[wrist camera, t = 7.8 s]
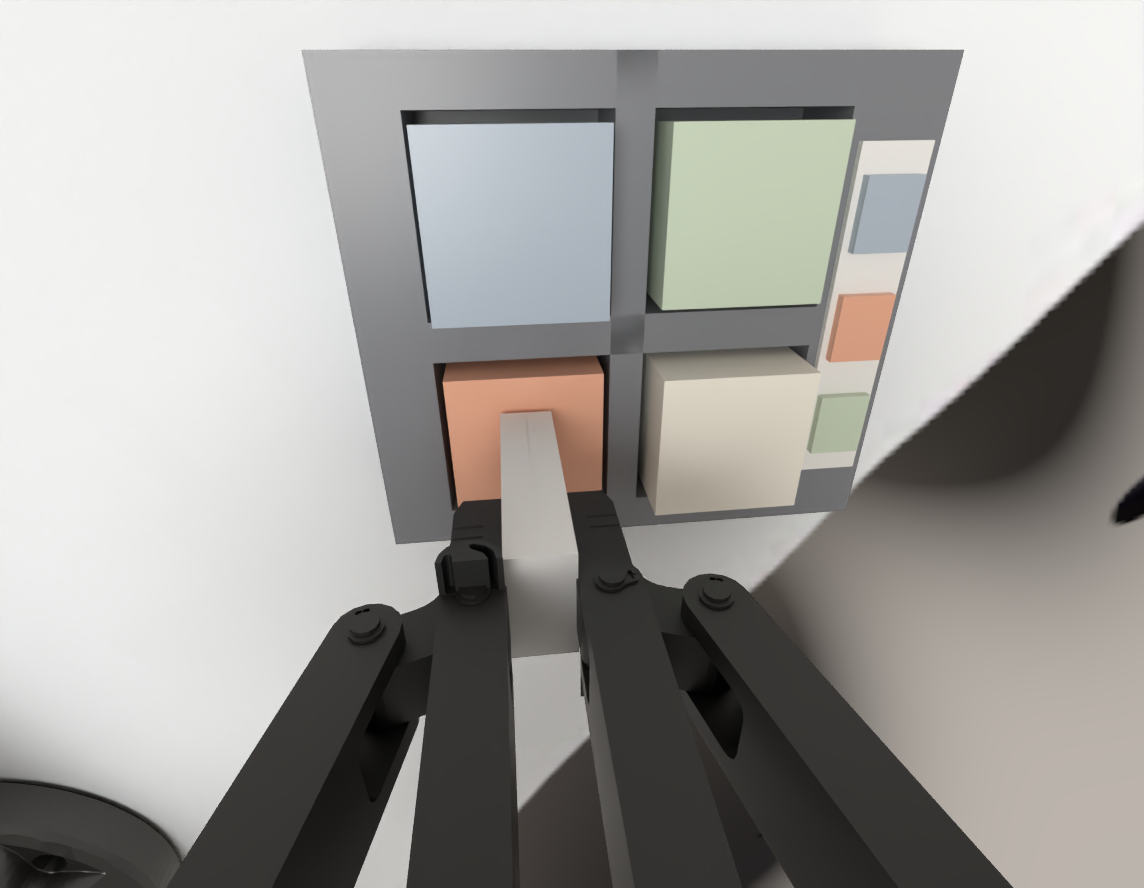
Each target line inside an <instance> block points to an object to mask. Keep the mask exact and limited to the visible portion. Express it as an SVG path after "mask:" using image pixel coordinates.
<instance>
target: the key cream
mask: <svg viewBox="0 0 1144 888" xmlns="http://www.w3.org/2000/svg"><path fill="white" fill-rule="evenodd" d="M820 377H821V372H819V371H818V370H817V369H816V368H814V367H813V366H812V365H810V364H809V363H808V362H807V361H805V360H804V359H803V358H802V357H800V356H799V355H798V354H796V353H795V352H794V351H793V350H791V349H790V348H789V347H788V346H781V347H761V348H740V349H719V350H699V351H678V352H657V353H643V366H642V386H641V405H640V425H639V445H638V464H637V471H638V474H639V476H640V479H641V481H642V484H643V486H644V489H645V491H646V494H647V496H648V499H649V501H650V504H651V506H652V509H653V511H654V514H655V515H669V514H682V513H696V512H709V511H723V510H736V509H750V508H763V507H777V506H790V505H794V503H795V498H796V493H797V488H798V484H799V479H800V474H801V469H802V464H803V459H804V454H805V450H806V445H807V440H808V435H809V430H810V425H811V420H812V416H813V411H814V406H815V401H816V396H817V391H818V387H819V382H820Z"/></svg>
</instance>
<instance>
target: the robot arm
mask: <svg viewBox="0 0 1144 888" xmlns="http://www.w3.org/2000/svg"><path fill="white" fill-rule="evenodd" d="M500 446H501V499H488V500H474V501H463V502H462V503H461V505H460V506H459V507H458V509H457V510H456V511H455V513H454V515H453V524H452V533H451V543H450V546H449V547H446V548H445V549H444V550H443V551H442V552H441V553H440V554H439V555H438V557H437V559H436V561H435V569H436V576H437V582H438V589H439V596H438V597H437V598H436V599H435V600H433V601H432V602H430V603H429V604H427V605H426V606H424V607H421V608H419V609H416V610H414V611H411V612H408V613H405V614H402V615H400V614H399V612H398V611H396V610H395V609H394V608H393V607H391V606H387V605H383V604H367V605H364V606H361V607H358V608H354V609H352V610H351V611H349V612H347V613H346V614H344V615H343V616H341V617H340V618H339V619H338V621H337V622H336V623H335V624H334V625H333V626H332V628H331V629H330V631H329V633H328V634H327V636H326V637H325V639H324V640H323V642H322V644H321V645H320V647H319V648H318V650H317V651H316V653H315V655H314V656H313V658H312V659H311V661H310V662H309V664H308V666H307V667H306V669H305V670H304V672H303V673H302V675H301V677H300V678H299V680H298V681H297V683H296V684H295V686H294V688H293V689H292V691H291V692H290V694H289V695H288V697H287V699H286V700H285V702H284V703H283V705H282V706H281V708H280V710H279V711H278V713H277V714H276V716H275V717H274V719H273V720H272V722H271V724H270V725H269V727H268V728H267V730H266V731H265V733H264V735H263V736H262V738H261V739H260V741H259V742H258V744H257V746H256V747H255V749H254V750H253V752H252V753H251V755H250V757H249V758H248V760H247V761H246V763H245V764H244V766H243V768H242V769H241V771H240V772H239V774H238V775H237V777H236V779H235V780H234V782H233V783H232V785H231V786H230V788H229V790H228V791H227V793H226V794H225V796H224V797H223V799H222V801H221V802H220V804H219V805H218V807H217V808H216V810H215V812H214V813H213V815H212V816H211V818H210V819H209V821H208V823H207V824H206V826H205V827H204V829H203V830H202V832H201V834H200V835H199V837H198V838H197V840H196V841H195V843H194V845H193V846H192V848H191V849H190V851H189V852H188V854H187V856H186V857H185V859H184V860H183V862H182V863H181V865H180V861H179V859H178V856H177V854H176V853H175V851H174V849H173V848H172V847H171V845H170V844H169V843H168V842H167V841H166V839H165V838H164V837H162V836H161V835H160V834H159V833H158V832H157V831H156V830H155V829H153V828H152V827H150V826H149V825H148V824H146V823H145V822H143V821H141V820H140V819H138V818H137V817H135V816H133V815H131V814H129V813H127V812H125V811H123V810H121V809H119V808H116V807H114V806H112V805H109V804H107V803H104V802H101V801H99V800H96V799H93V798H89V797H86V796H83V795H79V794H76V793H72V792H67V791H63V790H58V789H53V788H48V787H42V786H35V785H27V784H18V783H3V782H0V888H354V886H355V884H356V881H357V878H358V876H359V873H360V871H361V868H362V866H363V863H364V861H365V858H366V856H367V853H368V850H369V848H370V845H371V843H372V840H373V838H374V835H375V833H376V830H377V828H378V825H379V823H380V820H381V817H382V815H383V812H384V810H385V807H386V805H387V802H388V800H389V797H390V795H391V792H392V789H393V787H394V784H395V782H396V779H397V777H398V774H399V772H400V769H401V767H402V764H403V762H404V759H405V756H406V754H407V751H408V749H409V746H410V744H411V741H412V739H413V736H414V734H415V731H416V728H417V726H418V723H419V718H420V716H423V715H425V714H426V719H425V728H424V737H423V746H422V755H421V763H420V772H419V781H418V790H417V799H416V808H415V816H414V825H413V834H412V843H411V852H410V861H409V869H408V878H407V887H406V888H520V870H519V843H518V842H519V841H518V812H517V783H516V754H515V725H514V696H513V674H512V661H511V658H517V657H528V656H538V655H549V654H559V653H570V652H579V647H580V654H581V696H584V697H585V704H586V711H587V717H588V724H589V731H590V737H591V744H592V750H593V757H594V763H595V770H596V777H597V784H598V790H599V797H600V803H601V810H602V817H603V823H604V830H605V837H606V843H607V850H608V857H609V863H610V870H611V876H612V883H613V888H742V886H741V882H740V879H739V876H738V873H737V870H736V867H735V864H734V861H733V858H732V854H731V851H730V848H729V845H728V842H727V838H726V836H725V832H724V829H723V826H722V823H721V820H720V817H719V814H718V811H717V807H716V804H715V801H714V798H713V794H712V791H711V788H710V785H709V782H708V779H707V776H706V773H705V770H704V766H703V763H702V760H701V757H700V754H699V751H698V748H697V744H696V741H695V738H694V735H693V732H692V728H691V725H690V722H689V719H688V716H687V713H688V714H689V716H690V718H691V719H692V721H693V723H694V724H695V726H696V728H697V729H698V731H699V732H700V734H701V735H702V737H703V739H704V741H705V742H706V744H707V746H708V747H709V749H710V751H711V752H712V754H713V755H714V757H715V759H716V760H717V762H718V763H719V765H720V767H721V769H722V770H723V772H724V773H725V775H726V777H727V778H728V780H729V782H730V783H731V785H732V786H733V788H734V790H735V791H736V793H737V795H738V796H739V798H740V800H741V801H742V803H743V805H744V806H745V808H746V809H747V811H748V813H749V814H750V816H751V818H752V819H753V821H754V823H755V824H756V826H757V827H758V829H759V831H760V832H761V834H762V836H763V837H764V839H765V841H766V842H767V844H768V845H769V847H770V849H771V850H772V852H773V854H774V855H775V857H776V859H777V860H778V862H779V863H780V865H781V867H782V868H783V870H784V872H785V873H786V875H787V877H788V878H789V880H790V881H791V883H792V885H793V886H794V888H1013V887H1012V886H1011V885H1010V884H1009V882H1008V881H1007V880H1006V879H1005V878H1004V877H1003V876H1002V875H1001V873H1000V872H999V871H998V870H997V869H996V868H995V867H994V866H993V865H992V864H991V862H990V861H989V860H988V859H987V858H986V857H985V856H984V855H983V854H982V852H981V851H980V850H979V849H978V848H977V847H976V846H975V844H974V843H973V842H972V841H971V840H970V839H969V838H968V837H967V836H966V834H965V833H964V832H963V831H962V830H961V829H960V828H959V827H958V826H957V824H956V823H955V822H954V821H953V820H952V819H951V818H950V817H949V816H948V814H947V813H946V812H945V811H944V810H943V809H942V808H941V807H940V805H939V804H938V803H937V802H936V801H935V800H934V799H933V798H932V797H931V795H930V794H929V793H928V792H927V791H926V790H925V789H924V788H923V787H922V785H921V784H920V783H919V782H918V781H917V780H916V779H915V778H914V777H913V775H912V774H911V773H910V772H909V771H908V770H907V769H906V768H905V766H904V765H903V764H902V763H901V762H900V761H899V760H898V759H897V758H896V756H895V755H894V754H893V753H892V752H891V751H890V750H889V749H888V747H887V746H886V745H885V744H884V743H883V742H882V741H881V740H880V738H879V737H878V736H877V735H876V734H875V733H874V732H873V731H872V730H871V728H870V727H869V726H868V725H867V724H866V723H865V722H864V721H863V720H862V718H861V717H860V716H859V715H858V714H857V713H856V712H855V711H854V709H853V708H852V707H850V705H849V704H848V703H847V702H846V701H845V699H844V698H843V697H842V696H841V695H840V694H839V693H838V692H837V691H836V689H835V688H834V687H833V686H832V685H831V684H830V683H829V682H828V681H827V679H826V678H825V677H824V676H823V675H822V674H821V673H820V672H819V670H818V669H817V668H816V667H815V666H814V665H813V664H812V663H811V662H810V660H809V659H808V658H807V657H806V656H805V655H804V654H803V653H802V651H800V649H799V648H798V647H797V646H796V645H795V644H794V643H793V641H792V640H791V639H790V638H789V637H788V636H787V635H786V634H785V633H784V631H783V630H782V629H781V628H780V627H779V626H778V625H777V624H776V622H774V620H773V619H772V618H771V617H770V616H769V615H768V614H767V612H766V611H765V610H764V609H763V608H762V607H761V606H760V605H759V603H758V602H757V601H756V600H755V599H754V598H753V597H752V596H751V595H750V593H749V592H748V591H747V590H746V589H745V588H744V587H743V586H742V585H740V584H739V583H738V582H737V581H735V580H733V579H731V578H728V577H726V576H723V575H717V574H703V575H698V576H696V577H693V578H691V579H689V581H688V582H687V583H686V584H685V585H684V588H683V589H678V588H672V587H666V586H661V585H657V584H655V583H652V582H650V581H648V580H646V579H645V578H643V576H642V574H641V573H640V571H639V570H638V569H637V568H635V567H634V566H633V565H632V562H631V558H630V555H629V552H628V549H627V545H626V542H625V539H624V536H623V532H622V529H621V527H620V523H619V519H618V516H617V513H616V510H615V506H614V503H613V501H612V500H611V499H610V498H609V497H608V496H607V495H606V494H605V493H604V492H603V491H602V490H597V491H582V492H568V493H567V492H566V487H565V481H564V476H563V471H562V465H561V460H560V455H559V450H558V444H557V439H556V434H555V429H554V423H553V418H552V413H551V411H542V412H524V413H507V414H500ZM686 711H687V713H686Z"/></svg>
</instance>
